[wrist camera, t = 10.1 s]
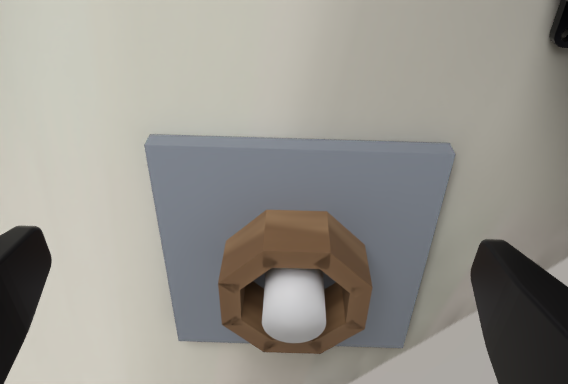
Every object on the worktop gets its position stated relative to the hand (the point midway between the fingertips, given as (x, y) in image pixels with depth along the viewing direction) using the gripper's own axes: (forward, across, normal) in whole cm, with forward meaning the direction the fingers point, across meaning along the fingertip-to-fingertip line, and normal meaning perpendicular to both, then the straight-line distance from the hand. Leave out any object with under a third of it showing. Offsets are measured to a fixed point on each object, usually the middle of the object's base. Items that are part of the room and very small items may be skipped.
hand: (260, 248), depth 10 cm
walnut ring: (+11, -1, +11) cm, 16 cm away
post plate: (+12, -1, +11) cm, 16 cm away
